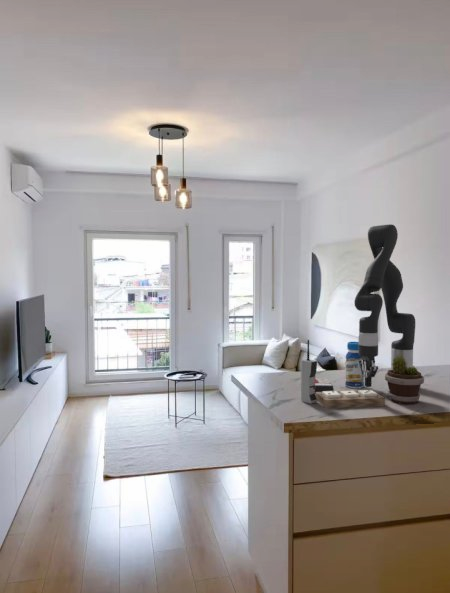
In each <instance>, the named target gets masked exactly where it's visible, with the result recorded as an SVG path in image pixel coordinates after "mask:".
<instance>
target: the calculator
mask: <svg viewBox="0 0 450 593" xmlns="http://www.w3.org/2000/svg"><path fill="white" fill-rule="evenodd" d="M322 391H334V385H333V384H332V383H331V382H330V380H328V378H315V392H322Z"/></svg>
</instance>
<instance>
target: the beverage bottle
mask: <svg viewBox="0 0 450 593" xmlns="http://www.w3.org/2000/svg"><path fill="white" fill-rule="evenodd" d="M358 344H359V341H348V342H347V345H346V347H347V350H348V351H347V353H346V354H345V359H346V360H345V361H344V363H345V376H344V377H345V380H344V381H345V383H344V384H345V387H347V388H349V389H362V388H364V387H365V377H364V374H362V372H361V368H360V365H359V361H361V360H362V356H360V355H359V354H358Z"/></svg>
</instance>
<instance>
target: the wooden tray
mask: <svg viewBox="0 0 450 593" xmlns="http://www.w3.org/2000/svg"><path fill="white" fill-rule="evenodd" d="M335 391H336V390H335ZM340 391H341V390H340ZM340 391H339V390H338V391H336V392H338V393H339V394H340ZM354 391H355V392H356V393H358V390H354ZM374 392H375V393H377V392H376V391H374ZM315 395H316V398H317V402H318V403H319V404H320V405H321V406H322V405H323V406H322V407H323V408H325V409H333V408H335V409H336V408H337V409H338V408H339V409H340V408H356V407H357V408H358V407H359V408H360V407H361V408H362V407H379V406H386V397H384V396H383V395H380V394H379V393H377V396H370V397H363V396H361V395H359V397H343V396H342V395H341V398H325V397H324V396H323V395H322V392H315Z"/></svg>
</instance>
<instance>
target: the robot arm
mask: <svg viewBox="0 0 450 593" xmlns="http://www.w3.org/2000/svg"><path fill="white" fill-rule="evenodd" d="M398 233H399V232H398V229H397V227H396V225H394V224H381V225H373V226H371V227H369V229H368V231H367V239H368V245H369V247H370V250H371V253H372V256H373V261H372V262H371V263H370V264H369V266H368V267H367V269H366V271H365V277H364V280H363V283H362V285H361V287H360V289H359V291H358V292H357V294H356V296H355V298H354V307H355V309H356V310H357V311H359V312H371V313H370V315H369V316H363V317H360V319H359V323H358V325H359V327H358V331H359V332H358V342H359V344H358V354H359V355H360V356H362V360H361V361H359V365H360V368H361V372H362V374H364V387H366V388H371V387H372V382H373V380H372V378H375V377H376V374H377V372H378V369H379V366H378V365H377V366H376V360H375V357H378V355H379V333H378V332H379V331H378V330H379V329H378V328H379V327H378V326H379V323H378V322H379V318H380V313H381V310H382V309H383V303H384V307H385V314H386V322H387V326H388V330H389V331H390V332H391V333H394V334H402V337H401V338H400V339H398V340H393V341H392V342H391V346H390V347H391V348H390V350H391V353H390V354H391V356H390V358H391V359H390V370H393V366H392V363H393V361H392V360H394V358H396V357H397V356H398V355H399V354H400V356H401V355H403V356H402V358H403V359H405V361H406V363H405V364H407V365H405V366H406V367H408V366H409V367H410V366H411V367H415V368H416V366H414V345H415V336H416V335H415V334H416V318H415V315H413V314H412V313H404V312H398V308H397V307H398V306H397V303H398V300H399V298H400V296H401V294H402V292H403V289H404V282H403V279H402V278H403V277H402V273H401V270H400V269H399V268H398V267H397V266H396V265H395V264H394V263H393V262H392V261H391V260H390V259H391V257H392V256H393V253H394V250H395V248H396V245H397V242H398V237H399V236H398ZM380 290H381V292H382V296H381V295H380V294H379V293H376V292H379V291H380ZM383 301H384V302H383ZM396 355H397V356H396ZM409 367H408V368H409Z"/></svg>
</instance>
